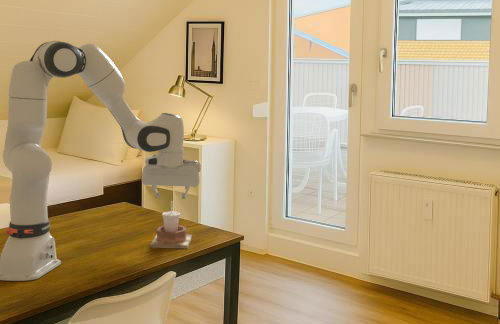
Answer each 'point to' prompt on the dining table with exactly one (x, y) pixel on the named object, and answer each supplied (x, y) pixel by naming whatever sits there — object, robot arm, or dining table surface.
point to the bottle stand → (171, 238)
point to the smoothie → (171, 220)
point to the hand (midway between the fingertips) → (170, 197)
